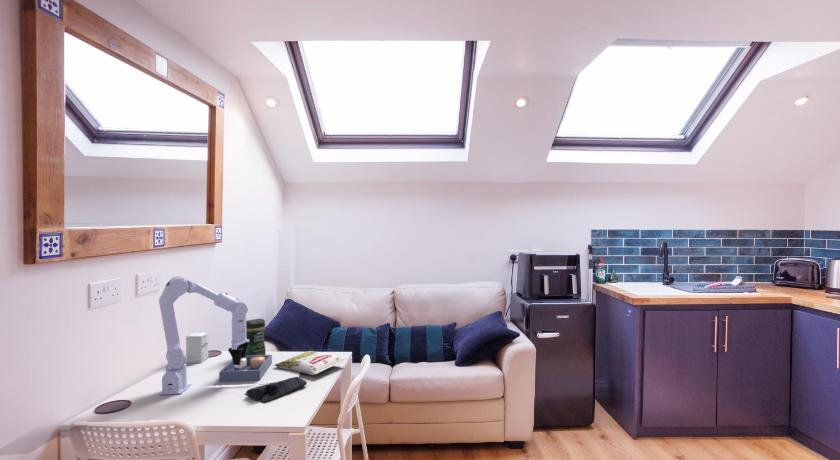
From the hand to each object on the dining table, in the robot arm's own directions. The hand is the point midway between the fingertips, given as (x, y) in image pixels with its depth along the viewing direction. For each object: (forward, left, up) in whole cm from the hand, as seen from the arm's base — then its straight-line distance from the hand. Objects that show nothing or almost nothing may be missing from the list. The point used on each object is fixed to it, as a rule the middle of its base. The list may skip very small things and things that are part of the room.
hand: (239, 361), depth 192 cm
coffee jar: (+29, +1, -7) cm, 30 cm away
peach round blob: (+10, -5, -6) cm, 13 cm away
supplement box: (+27, +27, -7) cm, 39 cm away
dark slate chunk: (-17, -19, -7) cm, 26 cm away
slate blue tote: (+4, -2, -7) cm, 8 cm away
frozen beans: (+9, -28, -7) cm, 31 cm away
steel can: (0, 0, -6) cm, 6 cm away
